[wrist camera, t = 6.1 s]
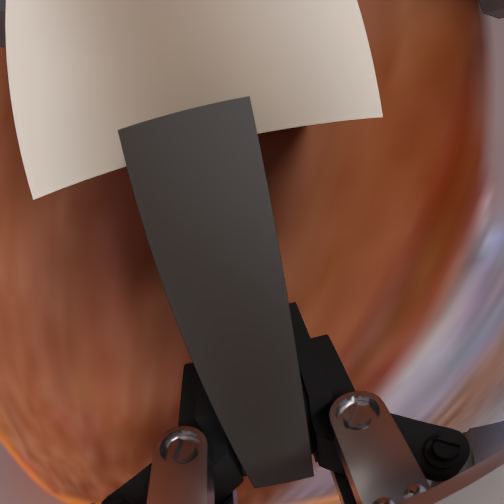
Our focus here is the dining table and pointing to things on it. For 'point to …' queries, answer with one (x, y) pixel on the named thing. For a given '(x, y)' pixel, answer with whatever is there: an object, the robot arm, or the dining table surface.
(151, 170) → the cream block
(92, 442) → the dining table surface
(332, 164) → the dining table surface
